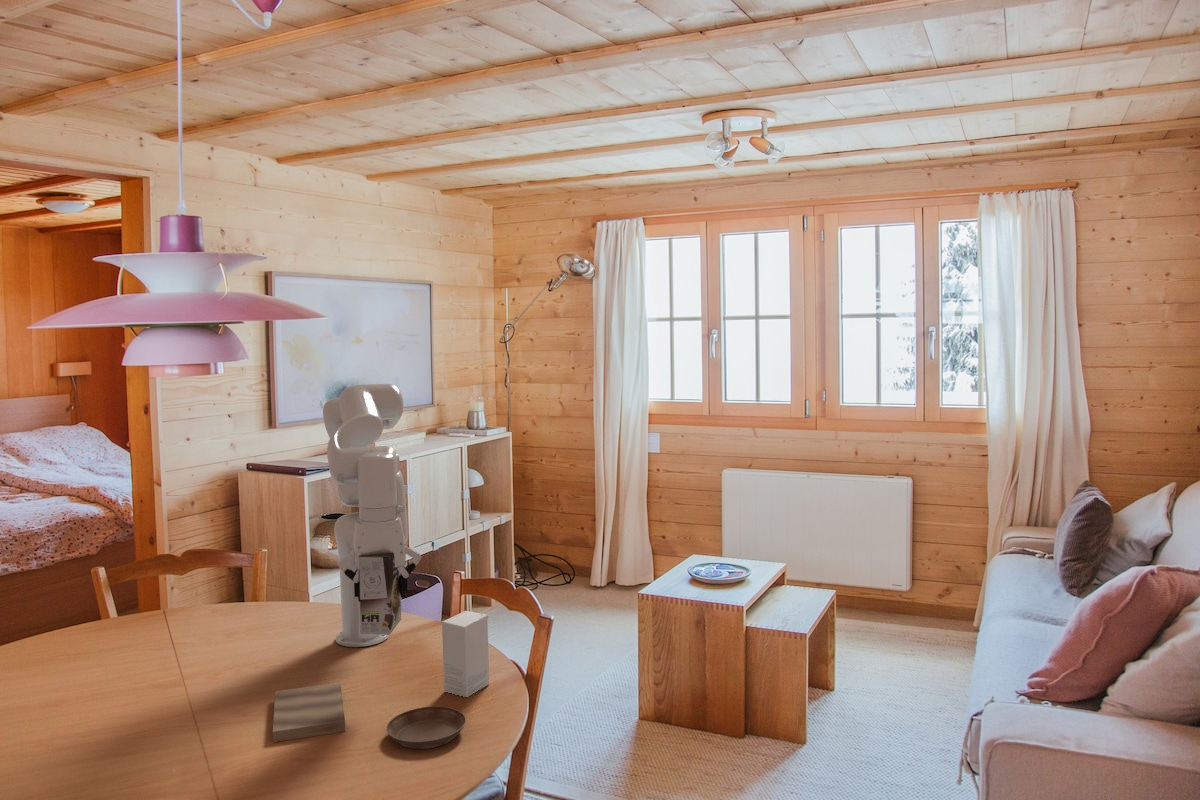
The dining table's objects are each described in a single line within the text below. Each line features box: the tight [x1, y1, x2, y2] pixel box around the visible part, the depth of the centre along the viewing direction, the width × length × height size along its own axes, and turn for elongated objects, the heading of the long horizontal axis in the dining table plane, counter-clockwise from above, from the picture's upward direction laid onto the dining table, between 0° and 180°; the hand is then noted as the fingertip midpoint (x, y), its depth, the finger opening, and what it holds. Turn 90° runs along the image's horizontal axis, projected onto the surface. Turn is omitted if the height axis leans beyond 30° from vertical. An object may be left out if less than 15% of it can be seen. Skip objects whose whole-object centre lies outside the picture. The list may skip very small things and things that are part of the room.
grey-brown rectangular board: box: [272, 682, 346, 743], centre depth 180 cm, size 20×13×2 cm, turn 18°
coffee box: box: [359, 553, 402, 635], centre depth 185 cm, size 9×6×16 cm
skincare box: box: [441, 610, 490, 698], centre depth 192 cm, size 8×7×16 cm
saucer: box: [386, 706, 467, 750], centre depth 171 cm, size 15×15×3 cm
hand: (381, 597), depth 186 cm, fingers closed on coffee box, 7 cm apart
